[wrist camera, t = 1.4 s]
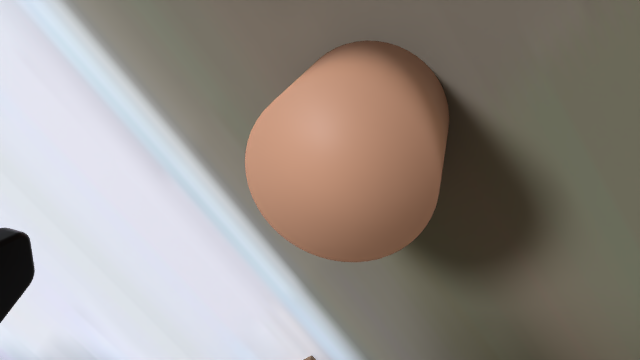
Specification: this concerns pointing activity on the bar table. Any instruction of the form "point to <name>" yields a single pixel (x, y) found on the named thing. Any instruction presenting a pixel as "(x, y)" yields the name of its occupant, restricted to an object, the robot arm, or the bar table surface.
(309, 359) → the walnut block
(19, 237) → the robot arm
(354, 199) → the peach rounded block
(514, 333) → the bar table surface
